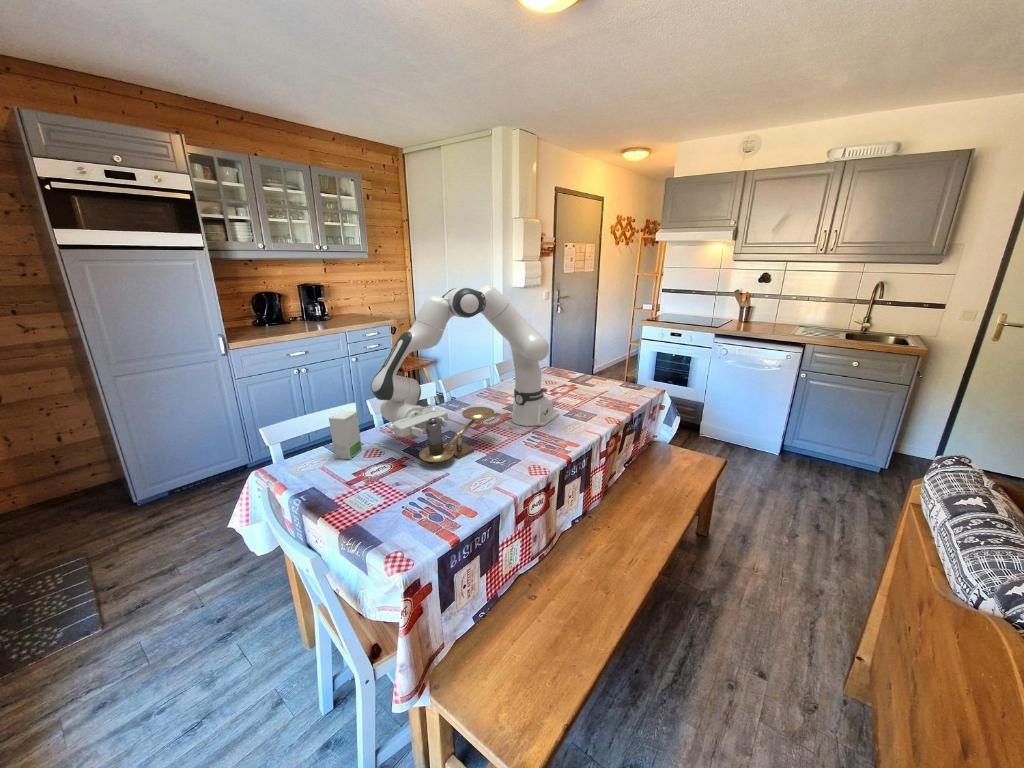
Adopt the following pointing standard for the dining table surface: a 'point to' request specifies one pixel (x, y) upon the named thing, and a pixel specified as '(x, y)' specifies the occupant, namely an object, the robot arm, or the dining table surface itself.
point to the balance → (459, 437)
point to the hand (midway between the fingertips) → (434, 428)
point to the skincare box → (345, 434)
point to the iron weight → (434, 437)
